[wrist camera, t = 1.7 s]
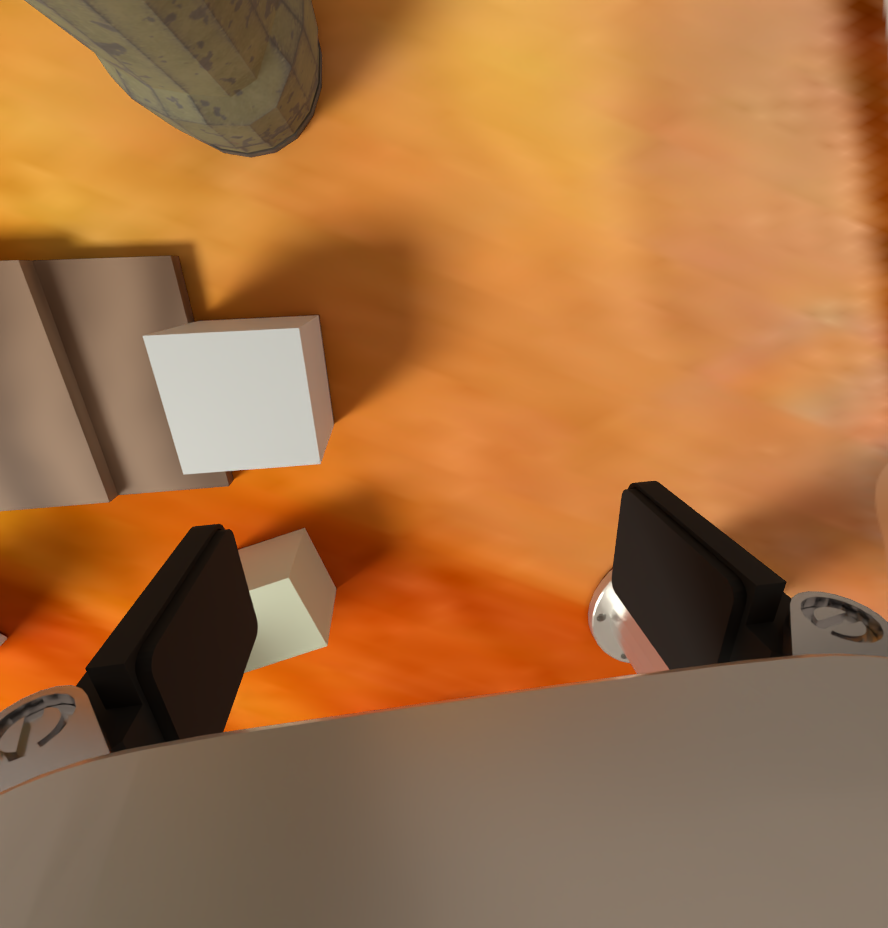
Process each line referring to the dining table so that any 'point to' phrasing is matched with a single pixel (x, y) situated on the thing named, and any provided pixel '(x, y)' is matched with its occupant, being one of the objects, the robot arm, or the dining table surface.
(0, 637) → the skincare box
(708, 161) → the dining table surface
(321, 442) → the light grey block
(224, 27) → the thermos
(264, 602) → the sage block
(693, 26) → the dining table surface
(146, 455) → the walnut steps
